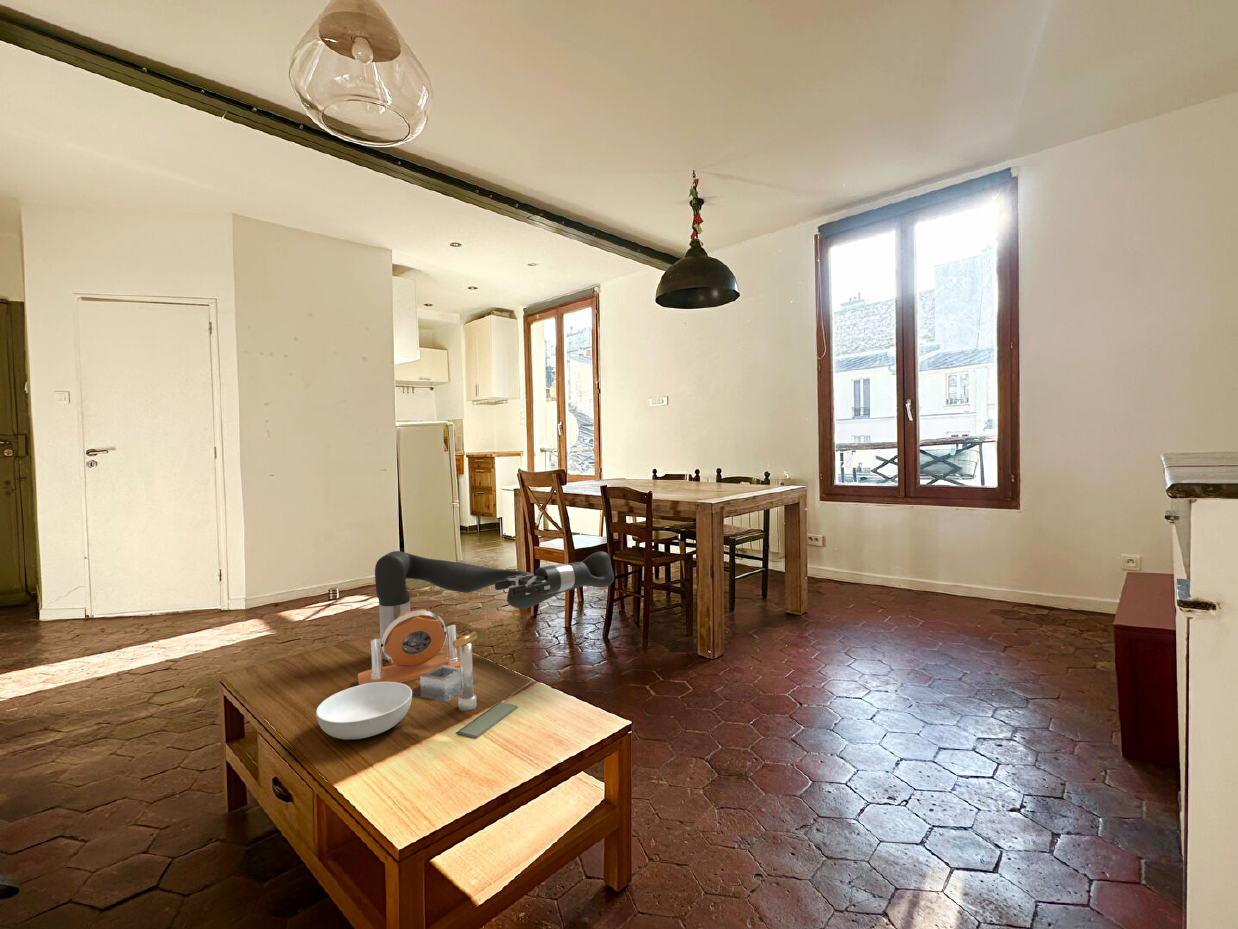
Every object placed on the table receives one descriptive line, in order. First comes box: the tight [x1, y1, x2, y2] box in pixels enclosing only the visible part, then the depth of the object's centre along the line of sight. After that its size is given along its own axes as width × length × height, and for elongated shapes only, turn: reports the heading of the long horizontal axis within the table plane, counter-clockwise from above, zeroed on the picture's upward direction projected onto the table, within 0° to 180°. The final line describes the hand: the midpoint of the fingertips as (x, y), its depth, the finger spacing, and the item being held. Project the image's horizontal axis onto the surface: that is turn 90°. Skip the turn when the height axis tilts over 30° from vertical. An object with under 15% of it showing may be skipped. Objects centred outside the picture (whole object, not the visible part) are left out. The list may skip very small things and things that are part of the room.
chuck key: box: [453, 630, 478, 712], centre depth 142 cm, size 7×4×18 cm, turn 155°
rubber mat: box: [455, 701, 519, 739], centre depth 139 cm, size 16×16×1 cm
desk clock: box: [357, 608, 460, 685], centre depth 165 cm, size 12×30×20 cm, turn 120°
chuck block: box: [411, 665, 481, 703], centre depth 154 cm, size 14×14×5 cm
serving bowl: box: [315, 682, 413, 740], centre depth 134 cm, size 21×21×7 cm
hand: (503, 589), depth 148 cm, fingers open, 8 cm apart
